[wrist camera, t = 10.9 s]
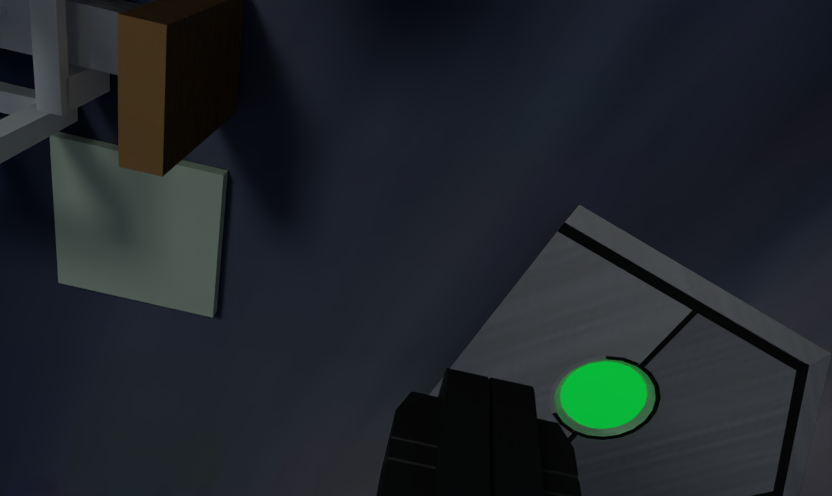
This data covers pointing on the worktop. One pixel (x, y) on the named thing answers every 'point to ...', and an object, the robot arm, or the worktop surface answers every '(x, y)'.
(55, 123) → the gray angular frame
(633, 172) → the worktop surface
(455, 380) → the robot arm
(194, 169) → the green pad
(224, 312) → the worktop surface
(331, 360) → the worktop surface
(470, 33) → the worktop surface
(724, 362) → the security device
